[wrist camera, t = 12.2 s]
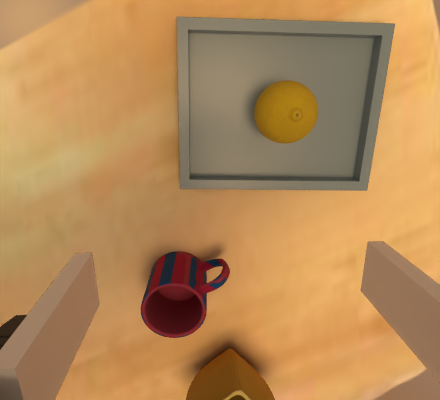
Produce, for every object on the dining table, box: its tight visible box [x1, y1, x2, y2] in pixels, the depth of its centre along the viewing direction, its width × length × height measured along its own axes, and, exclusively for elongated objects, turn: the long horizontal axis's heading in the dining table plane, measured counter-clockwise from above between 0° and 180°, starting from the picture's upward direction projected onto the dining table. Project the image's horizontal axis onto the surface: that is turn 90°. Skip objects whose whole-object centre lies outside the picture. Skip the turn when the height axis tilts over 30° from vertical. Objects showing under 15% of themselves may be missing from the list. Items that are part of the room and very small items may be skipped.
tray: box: [177, 17, 395, 191], centre depth 33 cm, size 20×16×2 cm
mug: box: [141, 252, 230, 338], centre depth 36 cm, size 7×10×7 cm
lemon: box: [254, 80, 318, 144], centre depth 29 cm, size 6×6×8 cm
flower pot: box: [186, 348, 275, 400], centre depth 40 cm, size 9×9×9 cm
